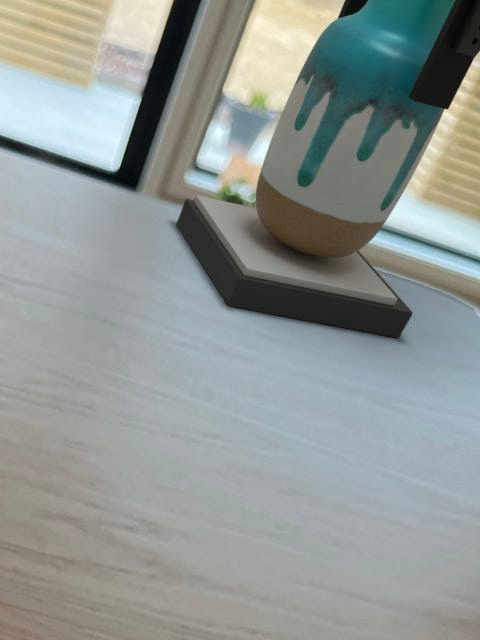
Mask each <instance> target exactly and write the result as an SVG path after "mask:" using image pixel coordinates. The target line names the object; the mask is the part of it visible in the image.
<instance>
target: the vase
mask: <svg viewBox="0 0 480 640" xmlns="http://www.w3.org/2000/svg"><path fill="white" fill-rule="evenodd" d="M454 2H455V0H368V2H367V3H366V5H365V6H364V7H363V8H362V9H361V10H360V11H359V12H357V13H355V14H353V15H349V16H345V17H342V18H338V17H337V19H334V20H333V21H331V22H330V23H329V25H328V26H327V27H325V29H324V30H323V31H322V32H321V34H320V35H319V37H318V39H317V40H316V42H315V43H314V45H313V47H312V49H311V50H310V53H308V56H307V57H306V59H305V62H304V64H303V65H302V68H301V70H300V72H299V74H298V76H297V78H296V81H295V82H294V85H293V87H292V89H291V91H290V94H289V96H288V98H287V100H286V103H285V105H284V106H283V110H282V112H281V114H280V117H279V119H278V121H277V124H276V126H275V129H274V132H273V134H272V137H271V139H270V142H269V145H268V148H267V151H266V153H265V156H264V159H263V163H262V165H261V169H260V172H259V175H258V179H257V183H256V189H255V208H256V209H257V213H258V217H259V219H260V221H261V223H262V224H263V226H264V227H265V228H266V229H267V231H268V232H269V233H270V234H271V235H272V236H274V237H275V238H276V239H278V240H279V241H280V242H282V243H284V244H285V245H287V246H289V247H291V248H293V249H295V250H298V251H300V252H303V253H306V254H309V255H313V256H318V257H324V258H339V257H344V256H348V255H350V254H353V253H355V252H357V251H360V250H361V249H363V248H364V247H365V246H367V245H368V244H369V243H370V242H371V241H372V240H373V239H374V238H375V237H376V235H377V234H378V233H379V232H380V231H381V229H382V228H383V226H384V225H385V223H386V222H387V221H388V219H389V217H390V215H391V214H392V212H393V211H394V209H395V207H396V206H397V204H398V202H399V201H400V199H401V198H402V196H403V194H404V192H405V190H406V189H407V187H408V185H409V184H410V182H411V180H412V178H413V175H414V174H415V172H416V170H417V168H418V166H419V164H420V163H421V160H422V159H423V157H424V154H425V153H426V150H427V149H428V147H429V145H430V142H431V141H432V138H433V136H434V134H435V132H436V130H437V128H438V125H439V124H440V121H441V119H442V116H443V114H444V112H445V109H443V108H439V107H435V106H431V105H427V104H423V103H420V102H416V101H413V100H412V99H410V98H409V95H410V93H411V91H412V89H413V87H414V85H415V83H416V80H417V78H418V76H419V74H420V72H421V70H422V68H423V66H424V64H425V62H426V60H427V58H428V56H429V54H430V52H431V49H432V47H433V45H434V43H435V41H436V39H437V37H438V35H439V33H440V31H441V29H442V27H443V25H444V23H445V21H446V18H447V16H448V14H449V12H450V10H451V8H452V6H453V4H454Z"/></svg>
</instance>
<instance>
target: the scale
mask: <svg viewBox="0 0 480 640" xmlns="http://www.w3.org/2000/svg"><path fill="white" fill-rule="evenodd" d="M176 226H177V227H178V229H179V231H180V232H181V234H182V235H183V237H184V239H185V240H186V242H187V244H188V245H189V246H190V248H191V250H192V252H193V253H194V254H195V256H196V258H197V259H198V261H199V262H200V264H201V265H202V268H203V269H204V270H205V271H206V273H207V275H208V277H209V278H210V280H211V282H212V283H213V284H214V287H216V289H217V290H218V292H219V294H220V296H221V297H222V299H223V300H224V301H225V303H226V305H227V306H229V307H234V308H238V309H239V308H240V309H244V310H248V311H249V310H250V311H255V312H260V313H266V314H271V315H276V316H279V317H280V316H281V317H287V318H292V319H297V320H302V321H307V322H312V323H313V322H314V323H317V324H323V325H328V326H333V327H338V328H344V329H349V330H353V331H359V332H365V333H369V334H370V333H371V334H375V335H381V336H385V337H391V338H395V339H399V338H400V336H401V335H402V334H403V332H404V329H405V328H406V326H407V325H408V322H409V321H410V319H411V318H412V316H413V311H412V310H411V308H409V306H408V305H407V304H406V302H404V301H403V300H402V299H401V297H400V296H399V295H398V294H397V293H396V292H395V290H394V289H393V288H392V287H391V286H390V285H389V283H388V282H387V281H386V280H385V279H384V278H383V277H382V276H381V274H379V272H378V271H377V270H376V269H375V268H374V266H373V265H372V264H371V263H370V262H369V261H368V260H367V259H366V257H365V256H364V254H362V253H361V252H360V250H358V251H357V252H355V253H353V254H350V255H348V256H344V257H339V258H324V257H318V256H313V255H309V254H306V253H303V252H300V251H298V250H295V249H293V248H291V247H289V246H287V245H285V244H284V243H282V242H280V241H279V240H278V239H276V238H275V237H274V236H272V235H271V234H270V233H269V232H268V231H267V229H266V228H265V227H264V226H263V224H262V223H261V221H260V219H259V217H258V213H257V209H256V207H251V206H248V205H242V204H239V203H234V202H230V201H226V200H221V199H216V198H212V197H208V196H203V195H197V194H196V195H195V197H194V199H191V198H185V201H184V203H183V206H182V208H181V210H180V213H179V216H178V218H177V221H176Z"/></svg>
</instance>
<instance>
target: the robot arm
mask: <svg viewBox="0 0 480 640" xmlns="http://www.w3.org/2000/svg"><path fill="white" fill-rule="evenodd" d="M367 2H368V0H344V2H343V5H342V7H341V9H340V12H339V14H338V16H337V19H338V18H342V17H345V16H349V15H353V14H355V13H357V12H359V11H360V10H361V9H362V8H363V7H364V6H365V5H366V3H367ZM479 53H480V0H455V2H454V4H453V6H452V8H451V10H450V12H449V14H448V16H447V18H446V21H445V23H444V25H443V27H442V29H441V31H440V33H439V35H438V37H437V39H436V41H435V43H434V45H433V47H432V49H431V52H430V54H429V56H428V58H427V60H426V62H425V64H424V66H423V68H422V70H421V72H420V74H419V76H418V78H417V80H416V83H415V85H414V87H413V89H412V91H411V93H410V95H409V98H410V99H412V100H413V101H416V102H420V103H423V104H427V105H431V106H435V107H439V108H443V109H444V110H449V109H450V107H451V104H452V103H453V101H454V99H455V96H456V95H457V93H458V91H459V89H460V87H461V85H462V83H463V81H464V79H465V77H466V75H467V73H468V72H469V70H470V68H471V65H472V63H473V62H474V59H475V58H476V57H477V56H478V54H479Z"/></svg>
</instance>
